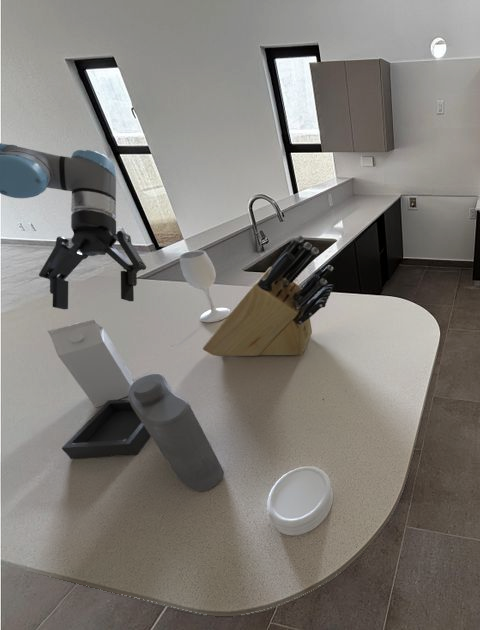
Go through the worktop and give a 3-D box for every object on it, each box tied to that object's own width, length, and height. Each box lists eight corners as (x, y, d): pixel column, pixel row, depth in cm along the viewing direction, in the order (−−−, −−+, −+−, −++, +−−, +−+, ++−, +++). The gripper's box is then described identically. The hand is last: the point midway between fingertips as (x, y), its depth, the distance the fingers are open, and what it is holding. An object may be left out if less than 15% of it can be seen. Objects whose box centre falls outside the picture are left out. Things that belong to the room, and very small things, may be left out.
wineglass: (197, 315, 108) (172, 253, 97) (226, 306, 113) (205, 246, 102) (204, 325, 102) (178, 262, 91) (234, 316, 107) (212, 254, 96)
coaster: (266, 494, 57) (261, 482, 55) (323, 467, 61) (320, 455, 60) (277, 550, 50) (272, 538, 48) (341, 515, 54) (339, 503, 52)
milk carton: (96, 390, 78) (48, 323, 68) (133, 377, 82) (93, 312, 72) (96, 408, 74) (45, 339, 64) (135, 393, 78) (93, 326, 68)
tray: (70, 459, 63) (61, 448, 61) (115, 410, 73) (108, 400, 71) (137, 455, 64) (129, 444, 62) (172, 407, 74) (166, 397, 72)
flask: (161, 454, 64) (110, 375, 53) (193, 434, 68) (152, 357, 57) (194, 502, 56) (142, 421, 46) (229, 476, 60) (188, 396, 49)
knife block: (337, 357, 89) (318, 247, 73) (205, 358, 89) (157, 247, 73) (344, 333, 99) (330, 231, 83) (226, 334, 98) (188, 231, 82)
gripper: (162, 218, 83) (165, 300, 80) (50, 229, 80) (48, 314, 76) (140, 203, 76) (142, 292, 72) (16, 214, 73) (12, 308, 69)
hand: (94, 304), depth 74 cm, fingers open, 13 cm apart
